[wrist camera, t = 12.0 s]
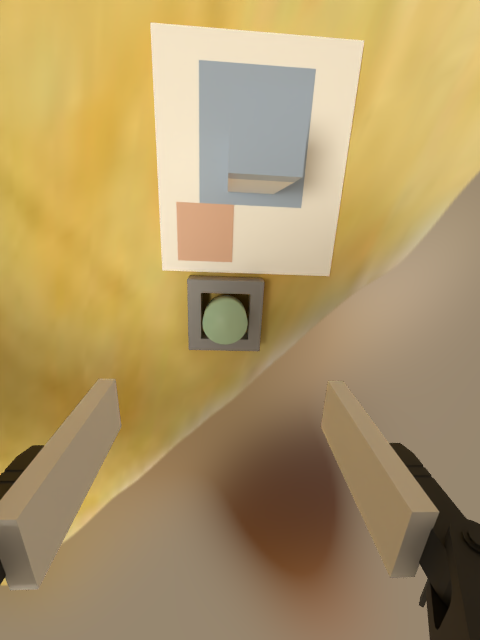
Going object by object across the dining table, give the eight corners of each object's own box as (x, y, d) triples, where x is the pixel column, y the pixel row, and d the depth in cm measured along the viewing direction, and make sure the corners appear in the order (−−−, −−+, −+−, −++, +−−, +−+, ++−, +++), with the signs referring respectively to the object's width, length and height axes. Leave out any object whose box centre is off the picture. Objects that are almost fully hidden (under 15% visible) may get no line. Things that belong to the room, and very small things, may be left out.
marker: (227, 191, 24) (228, 172, 15) (229, 138, 23) (230, 80, 14) (273, 194, 25) (302, 177, 15) (277, 141, 23) (312, 87, 14)
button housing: (191, 341, 30) (188, 349, 28) (190, 275, 27) (187, 279, 25) (257, 342, 30) (259, 351, 28) (261, 277, 28) (264, 281, 26)
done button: (204, 333, 28) (202, 344, 25) (204, 294, 27) (202, 301, 24) (244, 334, 28) (246, 345, 26) (246, 295, 27) (248, 302, 24)
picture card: (163, 269, 27) (162, 270, 26) (152, 28, 21) (150, 21, 20) (327, 274, 28) (329, 276, 27) (360, 45, 22) (364, 39, 21)
